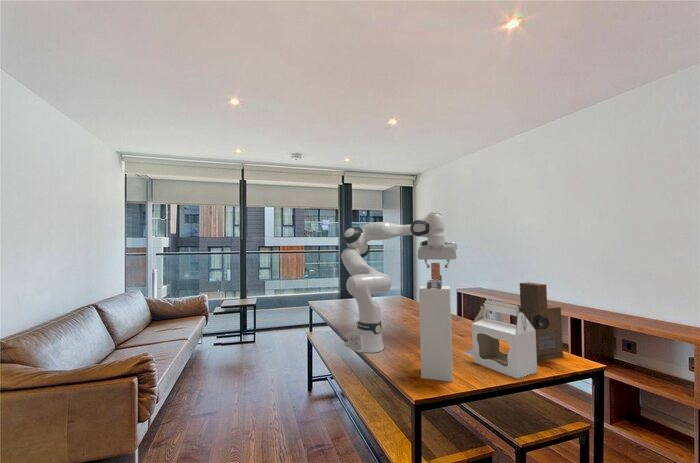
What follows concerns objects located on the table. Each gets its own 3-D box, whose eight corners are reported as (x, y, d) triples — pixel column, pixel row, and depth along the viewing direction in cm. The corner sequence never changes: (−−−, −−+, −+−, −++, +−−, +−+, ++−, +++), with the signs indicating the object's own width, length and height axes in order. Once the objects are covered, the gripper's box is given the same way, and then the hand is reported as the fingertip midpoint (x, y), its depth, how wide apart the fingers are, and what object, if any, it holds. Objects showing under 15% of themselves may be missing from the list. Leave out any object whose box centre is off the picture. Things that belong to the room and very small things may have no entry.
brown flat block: (434, 280, 155) (433, 261, 155) (441, 281, 154) (441, 261, 154) (429, 288, 130) (429, 264, 130) (438, 288, 129) (438, 264, 129)
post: (423, 368, 137) (421, 279, 139) (452, 371, 133) (449, 280, 135) (421, 378, 128) (418, 282, 129) (452, 381, 124) (449, 283, 125)
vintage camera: (539, 365, 138) (535, 285, 140) (513, 355, 152) (510, 282, 154) (571, 360, 144) (568, 283, 146) (544, 350, 158) (541, 280, 159)
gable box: (472, 361, 144) (470, 300, 146) (491, 356, 150) (489, 297, 152) (518, 379, 125) (515, 308, 126) (538, 372, 131) (535, 304, 132)
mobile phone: (494, 349, 158) (476, 355, 150) (494, 351, 158) (476, 357, 150) (480, 345, 165) (462, 351, 156) (480, 347, 165) (462, 353, 156)
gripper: (456, 242, 171) (457, 267, 170) (418, 242, 177) (418, 267, 177) (456, 242, 165) (457, 268, 164) (416, 242, 171) (417, 268, 171)
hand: (437, 268), depth 170 cm, fingers open, 8 cm apart
